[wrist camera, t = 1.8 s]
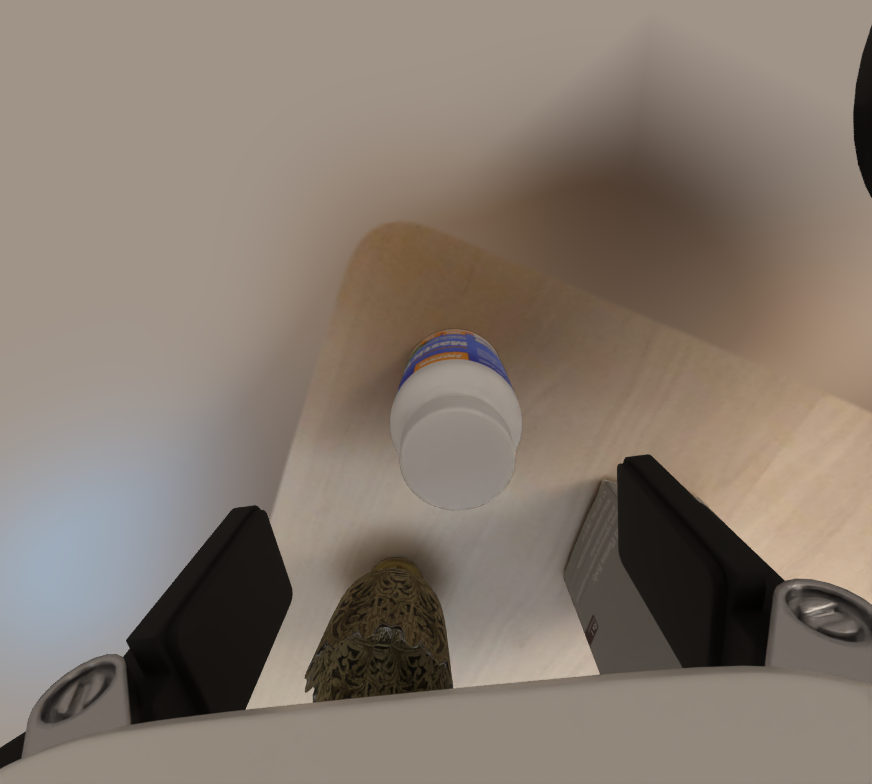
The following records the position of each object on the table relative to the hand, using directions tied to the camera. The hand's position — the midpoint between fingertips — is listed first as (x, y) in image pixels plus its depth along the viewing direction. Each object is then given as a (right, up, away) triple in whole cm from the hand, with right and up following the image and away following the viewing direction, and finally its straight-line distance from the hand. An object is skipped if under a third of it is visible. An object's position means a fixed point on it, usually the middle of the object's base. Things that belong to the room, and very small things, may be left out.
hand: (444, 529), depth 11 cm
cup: (-3, -9, +17) cm, 19 cm away
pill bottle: (+1, +5, +12) cm, 13 cm away
